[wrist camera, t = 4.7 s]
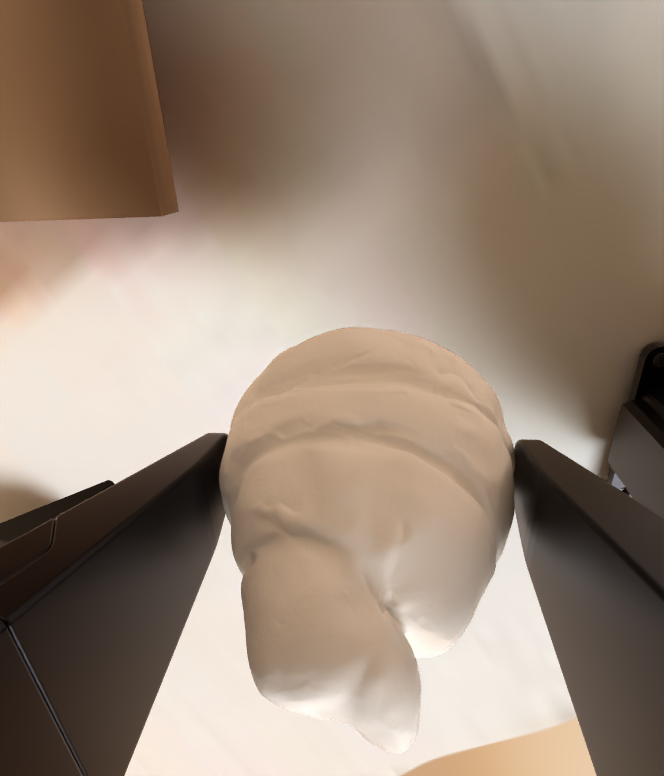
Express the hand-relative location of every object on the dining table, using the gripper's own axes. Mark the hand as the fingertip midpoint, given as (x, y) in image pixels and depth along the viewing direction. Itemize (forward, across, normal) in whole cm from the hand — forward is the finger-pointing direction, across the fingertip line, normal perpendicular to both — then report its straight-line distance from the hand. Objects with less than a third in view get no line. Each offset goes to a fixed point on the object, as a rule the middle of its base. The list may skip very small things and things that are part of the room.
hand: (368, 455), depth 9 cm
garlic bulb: (+2, 0, 0) cm, 2 cm away
